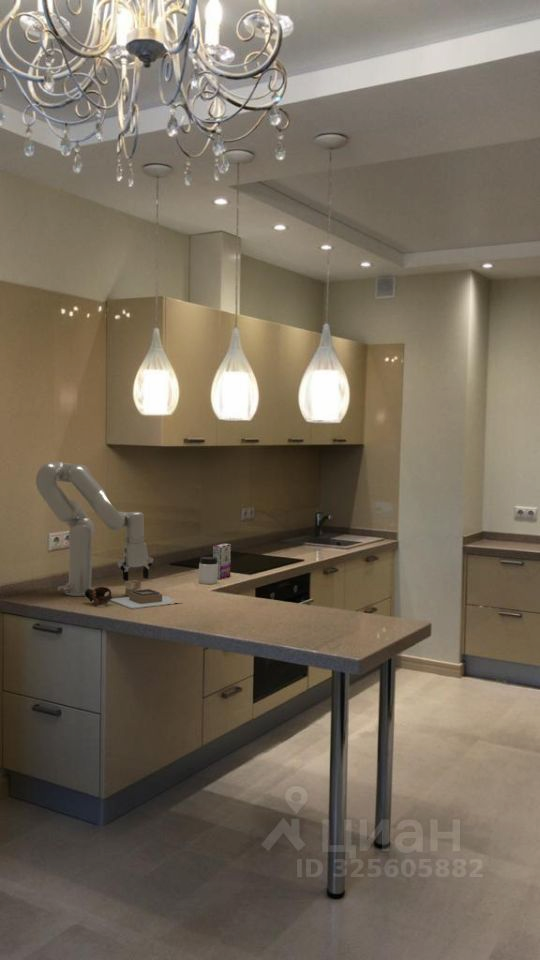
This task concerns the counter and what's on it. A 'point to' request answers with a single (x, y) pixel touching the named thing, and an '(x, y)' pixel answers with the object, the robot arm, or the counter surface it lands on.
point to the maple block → (132, 586)
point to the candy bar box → (223, 559)
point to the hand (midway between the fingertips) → (135, 579)
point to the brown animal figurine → (98, 595)
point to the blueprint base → (137, 605)
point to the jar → (208, 570)
